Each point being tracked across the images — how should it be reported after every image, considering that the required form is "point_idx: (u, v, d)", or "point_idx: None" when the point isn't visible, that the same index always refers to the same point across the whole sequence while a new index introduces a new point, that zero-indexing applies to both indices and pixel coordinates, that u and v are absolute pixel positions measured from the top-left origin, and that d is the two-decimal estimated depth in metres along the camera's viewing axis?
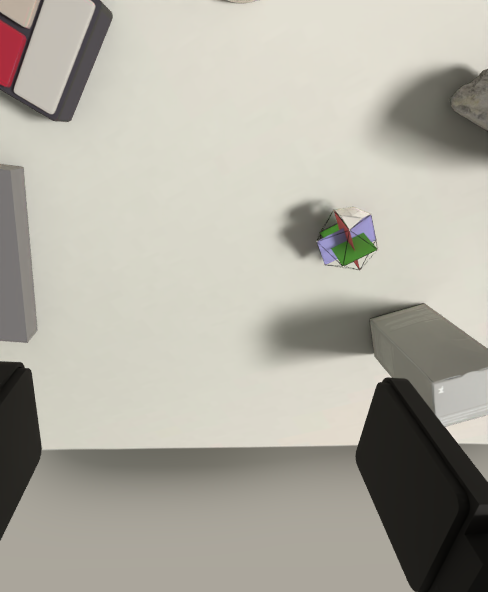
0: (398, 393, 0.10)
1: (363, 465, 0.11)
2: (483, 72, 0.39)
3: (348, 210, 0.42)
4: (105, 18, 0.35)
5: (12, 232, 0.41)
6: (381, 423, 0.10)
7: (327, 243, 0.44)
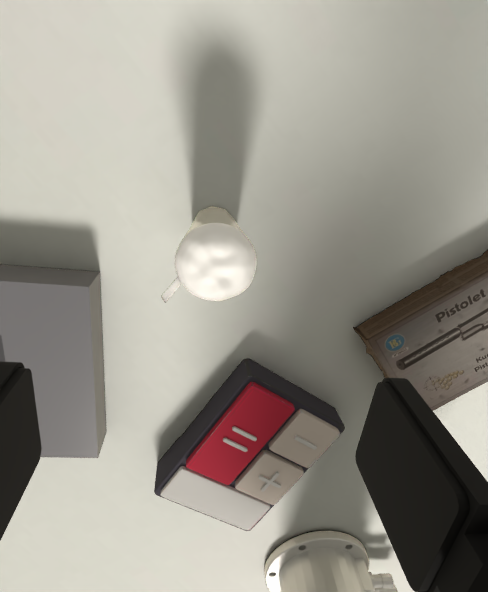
0: (398, 393, 0.10)
1: (363, 465, 0.11)
2: None
3: None
4: None
5: None
6: (381, 423, 0.10)
7: None
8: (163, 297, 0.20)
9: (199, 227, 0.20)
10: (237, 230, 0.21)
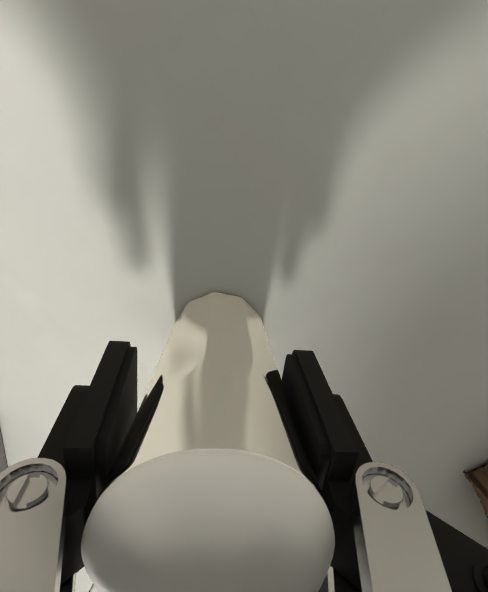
0: (301, 363, 0.11)
1: None
2: None
3: None
4: None
5: None
6: (287, 392, 0.11)
7: None
8: None
9: (152, 472, 0.06)
10: (280, 477, 0.06)
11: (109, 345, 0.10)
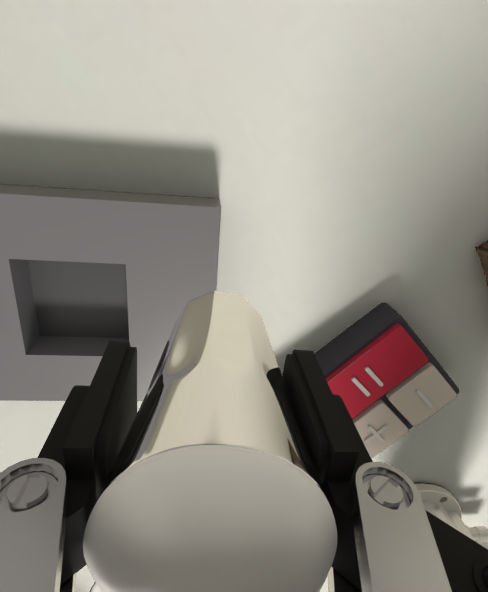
0: (301, 363, 0.11)
1: None
2: None
3: None
4: None
5: None
6: (287, 392, 0.11)
7: None
8: None
9: (155, 468, 0.06)
10: (282, 474, 0.06)
11: (109, 345, 0.10)
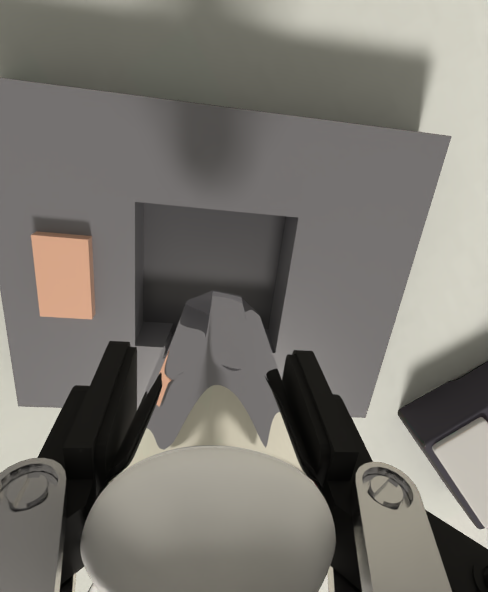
0: (301, 363, 0.11)
1: None
2: None
3: None
4: None
5: None
6: (287, 392, 0.11)
7: None
8: None
9: (152, 469, 0.06)
10: (280, 475, 0.06)
11: (109, 345, 0.10)
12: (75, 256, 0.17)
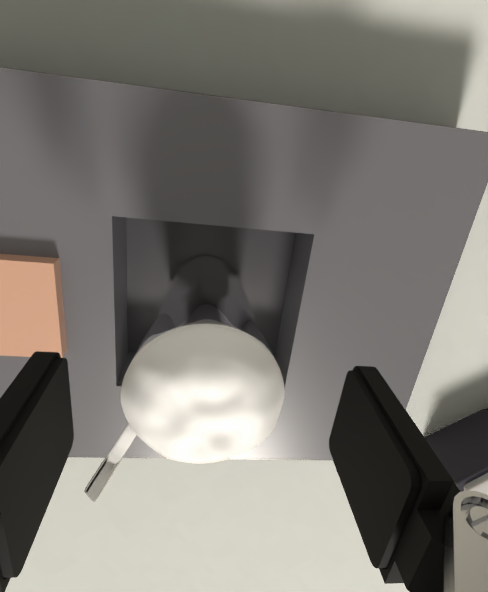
0: (366, 380, 0.10)
1: (335, 451, 0.11)
2: None
3: None
4: None
5: (270, 453, 0.19)
6: (350, 409, 0.10)
7: None
8: (89, 492, 0.09)
9: (167, 335, 0.10)
10: (246, 339, 0.10)
11: (33, 356, 0.09)
12: (38, 284, 0.14)
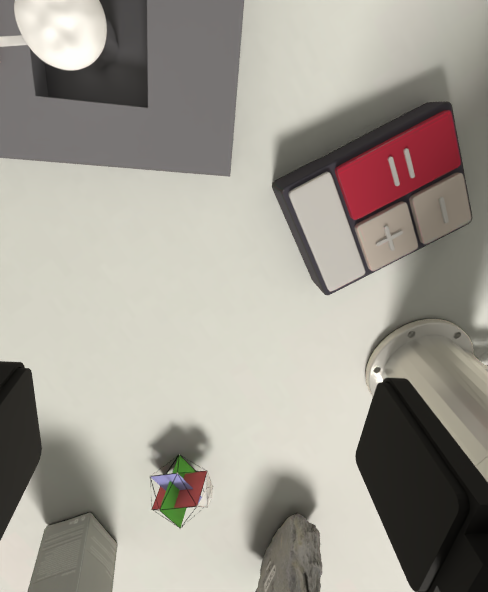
0: (398, 393, 0.10)
1: (363, 464, 0.11)
2: (314, 528, 0.53)
3: (211, 489, 0.44)
4: (316, 283, 0.37)
5: (147, 164, 0.29)
6: (381, 423, 0.10)
7: (175, 478, 0.44)
8: None
9: None
10: None
11: None
12: None
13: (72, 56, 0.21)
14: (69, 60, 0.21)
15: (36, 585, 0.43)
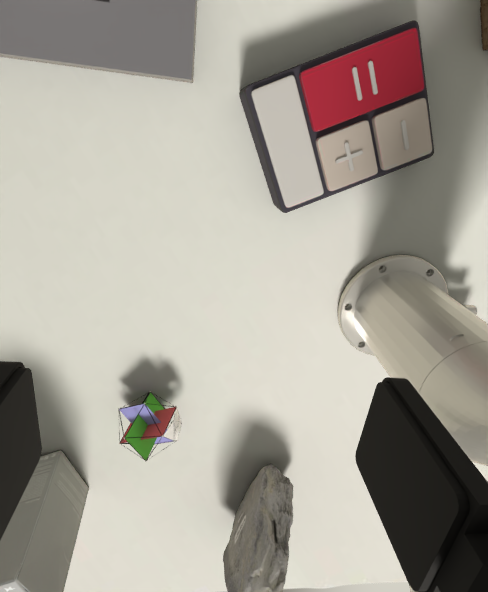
0: (398, 393, 0.10)
1: (363, 465, 0.11)
2: (288, 481, 0.52)
3: (178, 424, 0.44)
4: (275, 202, 0.37)
5: (110, 62, 0.30)
6: (381, 423, 0.10)
7: (143, 410, 0.44)
8: None
9: None
10: None
11: None
12: None
13: None
14: None
15: None
